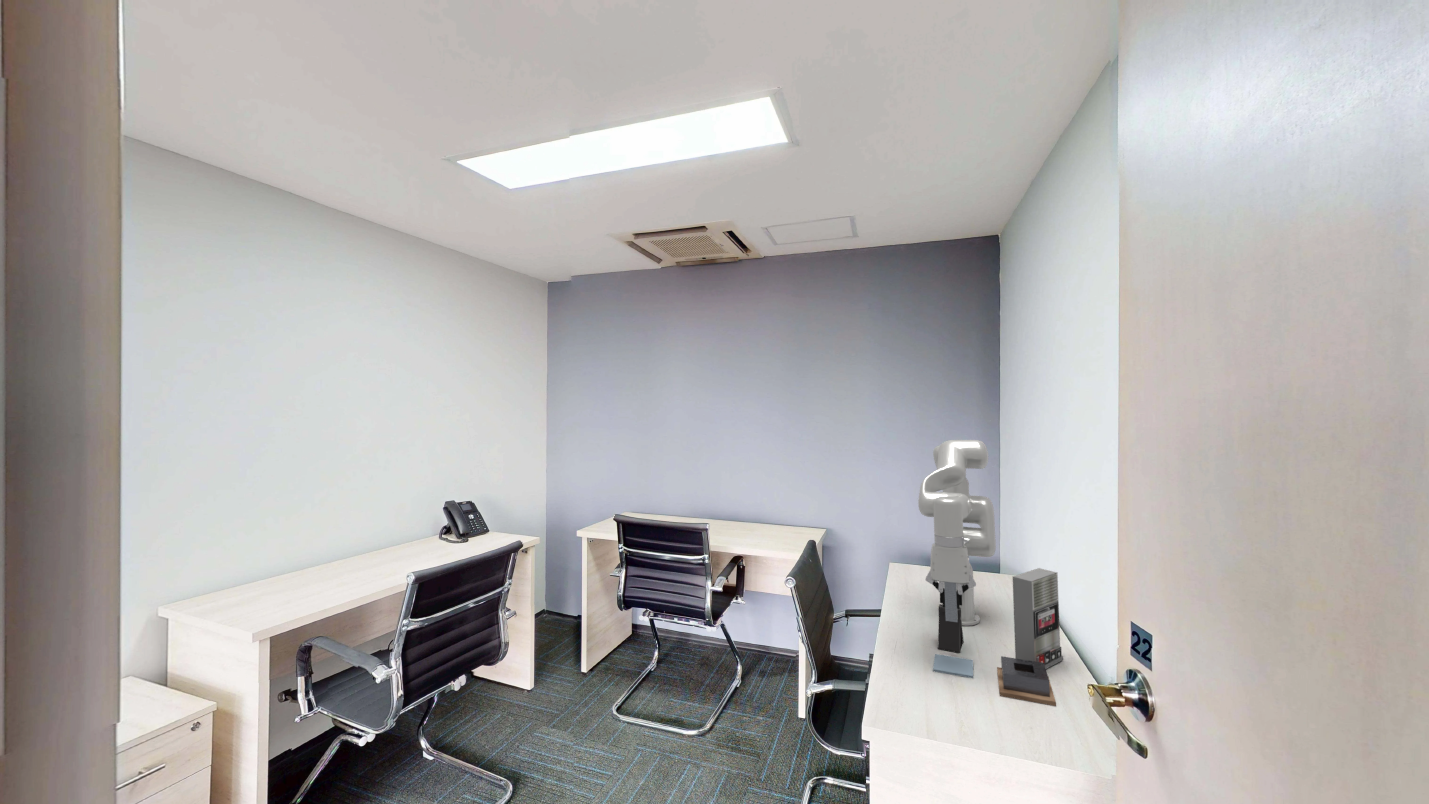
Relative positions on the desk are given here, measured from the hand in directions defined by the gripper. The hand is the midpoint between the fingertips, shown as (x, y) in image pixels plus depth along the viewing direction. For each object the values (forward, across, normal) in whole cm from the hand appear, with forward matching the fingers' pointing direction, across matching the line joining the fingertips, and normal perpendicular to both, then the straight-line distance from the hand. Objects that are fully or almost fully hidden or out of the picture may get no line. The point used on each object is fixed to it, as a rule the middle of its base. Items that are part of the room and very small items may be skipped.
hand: (951, 605), depth 149 cm
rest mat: (+17, 0, 0) cm, 17 cm away
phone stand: (+17, +1, -14) cm, 22 cm away
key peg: (+4, 0, 0) cm, 4 cm away
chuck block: (+17, -17, +5) cm, 25 cm away
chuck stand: (+17, -17, +5) cm, 25 cm away
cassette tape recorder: (+17, -22, -11) cm, 30 cm away
